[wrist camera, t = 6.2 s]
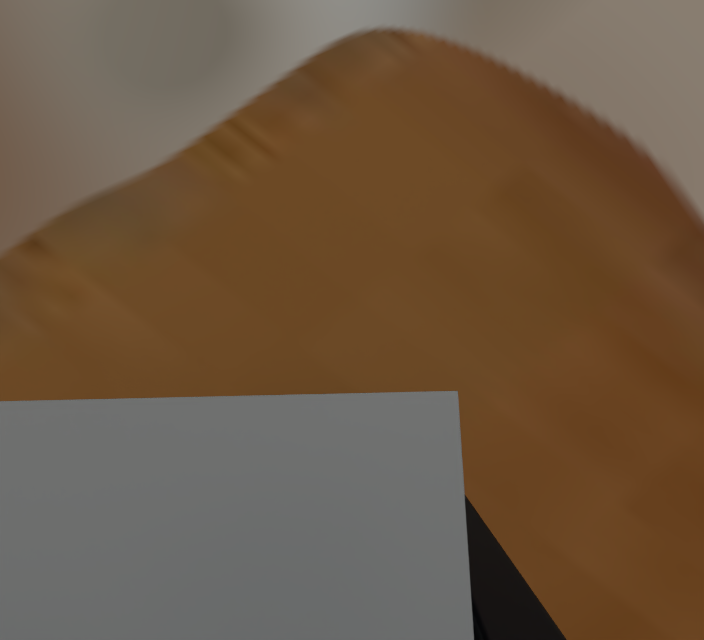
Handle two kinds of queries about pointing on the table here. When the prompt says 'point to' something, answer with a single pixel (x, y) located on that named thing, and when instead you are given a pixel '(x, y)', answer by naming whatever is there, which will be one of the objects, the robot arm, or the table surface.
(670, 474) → the table surface
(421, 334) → the table surface
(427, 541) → the sharp-edged grey box
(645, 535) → the table surface
